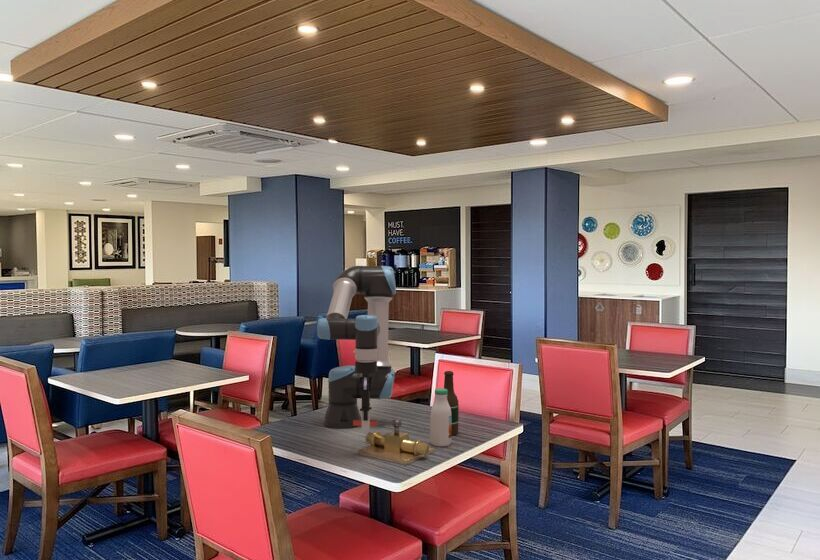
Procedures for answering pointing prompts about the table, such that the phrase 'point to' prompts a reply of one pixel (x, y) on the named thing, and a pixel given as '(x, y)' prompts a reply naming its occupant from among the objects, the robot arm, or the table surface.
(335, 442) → the table surface
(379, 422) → the lever
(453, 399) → the beer bottle
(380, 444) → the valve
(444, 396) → the milk bottle
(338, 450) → the table surface
